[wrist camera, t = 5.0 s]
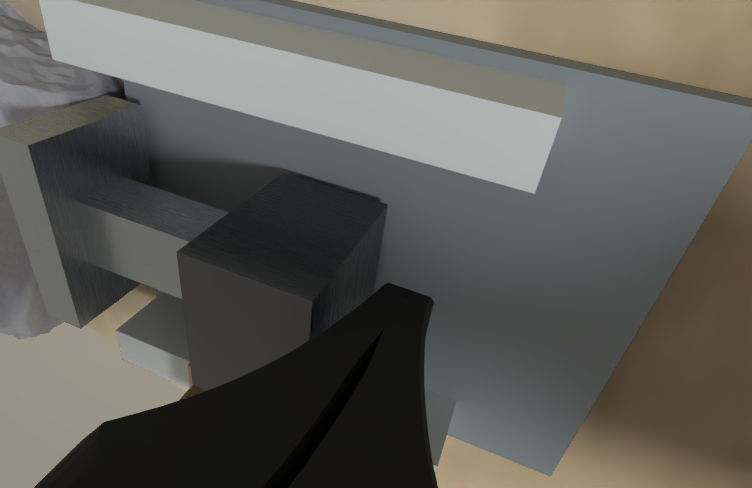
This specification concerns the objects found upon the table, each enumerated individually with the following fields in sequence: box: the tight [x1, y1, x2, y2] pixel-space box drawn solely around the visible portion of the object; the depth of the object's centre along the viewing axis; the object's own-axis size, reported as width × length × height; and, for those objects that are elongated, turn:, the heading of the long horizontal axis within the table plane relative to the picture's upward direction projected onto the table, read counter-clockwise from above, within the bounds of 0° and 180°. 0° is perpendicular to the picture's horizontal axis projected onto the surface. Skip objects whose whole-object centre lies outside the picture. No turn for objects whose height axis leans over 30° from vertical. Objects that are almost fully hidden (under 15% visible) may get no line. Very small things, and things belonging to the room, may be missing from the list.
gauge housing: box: [39, 0, 752, 476], centre depth 13 cm, size 15×12×3 cm
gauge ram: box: [0, 95, 388, 391], centre depth 13 cm, size 9×7×4 cm
